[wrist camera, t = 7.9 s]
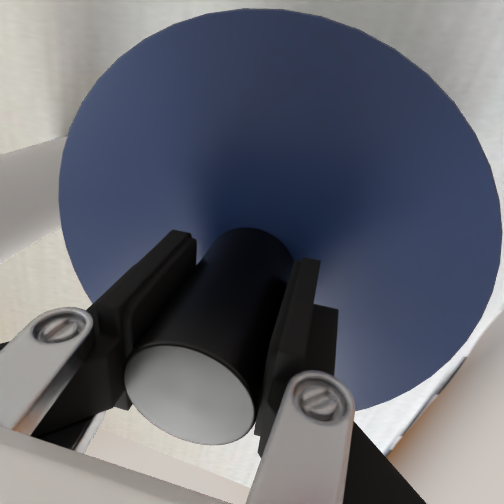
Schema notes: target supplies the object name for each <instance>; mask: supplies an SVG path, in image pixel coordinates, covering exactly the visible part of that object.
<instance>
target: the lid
mask: <svg viewBox="0 0 504 504" xmlns="http://www.w3.org/2000/svg"><path fill="white" fill-rule="evenodd" d="M58 202H59V211H60V220H61V227H62V231H63V235H64V240H65V244H66V248H67V251H68V254H69V256H70V259H71V262H72V265H73V268H74V270H75V272H76V274H77V276H78V278H79V280H80V282H81V285H82V287H83V289H84V291H85V292H86V294H87V295H88V297H89V299H90V300H91V302H92V304H93V303H94V302H95V301H96V300H97V299H99V298H100V297H101V296H102V295H103V294H104V293H105V292H106V291H107V290H108V289H109V288H110V287H111V286H112V285H113V284H114V283H115V282H116V281H117V280H119V279H120V278H121V277H122V276H123V275H124V274H125V273H126V272H127V271H128V270H129V269H130V268H131V267H132V266H133V265H135V264H137V263H138V262H139V261H140V260H141V259H142V258H143V257H144V256H145V255H146V254H147V253H148V252H149V251H150V250H151V249H153V248H154V247H155V246H156V245H157V244H158V243H159V242H160V241H161V240H162V239H163V238H164V237H165V236H166V235H167V234H168V233H169V232H170V231H171V230H178V231H183V232H188V233H191V234H192V238H194V239H196V240H197V260H196V267H195V268H194V269H193V271H192V272H191V273H190V275H189V276H188V277H187V279H186V280H185V281H184V283H183V284H182V285H181V287H180V288H179V289H178V291H177V292H176V293H175V295H174V296H173V297H172V299H171V300H170V301H169V303H168V304H167V305H166V307H165V308H164V309H163V311H162V312H161V313H160V315H159V316H158V317H157V319H156V320H155V321H154V323H153V324H152V325H151V327H150V328H149V329H148V331H147V332H146V333H145V335H144V336H143V337H142V339H141V340H140V341H139V343H138V344H137V345H136V347H135V348H134V349H133V351H132V352H131V353H130V355H129V356H128V358H127V359H126V362H125V364H124V369H123V383H124V387H125V390H126V393H127V395H128V397H129V399H130V400H131V402H132V403H133V405H134V406H135V407H136V408H137V410H138V411H139V412H140V413H141V414H142V415H143V416H144V417H145V418H146V419H147V420H149V421H150V422H151V423H152V424H154V425H155V426H156V427H158V428H160V429H161V430H163V431H165V432H166V433H168V434H170V435H172V436H175V437H177V438H179V439H182V440H185V441H189V442H192V443H197V444H203V445H223V444H228V443H232V442H234V441H237V440H239V439H241V438H242V437H244V436H245V435H246V434H247V433H248V432H249V431H250V430H251V429H252V427H253V426H254V424H255V422H256V418H257V414H258V411H259V407H260V403H261V400H262V383H263V377H264V371H265V365H266V359H267V354H268V349H269V345H270V341H271V337H272V334H273V331H274V327H275V324H276V320H277V317H278V314H279V310H280V307H281V304H282V300H283V297H284V294H285V290H286V287H287V284H288V280H289V277H290V274H291V270H292V267H293V264H294V260H297V261H302V258H303V257H306V258H311V259H316V260H320V261H321V263H320V269H319V275H318V280H317V286H316V292H315V298H314V304H318V305H322V306H326V307H330V308H335V309H338V310H339V316H338V330H337V345H336V360H335V374H334V376H335V377H337V378H338V379H339V380H340V381H342V382H343V383H344V384H345V385H346V386H347V387H348V389H349V390H350V391H351V393H352V396H353V398H354V401H355V411H358V410H362V409H367V408H370V407H372V406H375V405H378V404H381V403H384V402H386V401H389V400H391V399H393V398H395V397H397V396H399V395H401V394H403V393H405V392H407V391H409V390H411V389H413V388H414V387H416V386H417V385H419V384H420V383H422V382H423V381H425V380H426V379H428V378H430V377H431V376H432V375H433V374H435V373H436V372H437V371H438V370H439V369H440V368H441V367H443V366H444V365H445V364H446V363H447V362H448V361H450V360H451V358H452V357H453V356H454V355H455V354H456V353H457V351H458V350H459V349H460V348H461V347H462V346H463V345H464V343H465V342H466V341H467V340H468V338H469V337H470V335H471V333H472V332H473V330H474V329H475V327H476V326H477V324H478V322H479V321H480V319H481V318H482V315H483V313H484V311H485V309H486V306H487V304H488V302H489V299H490V297H491V295H492V292H493V289H494V285H495V281H496V277H497V273H498V269H499V265H500V256H501V243H502V223H501V212H500V201H499V196H498V193H497V189H496V185H495V181H494V178H493V174H492V170H491V166H490V164H489V162H488V160H487V158H486V156H485V153H484V151H483V149H482V147H481V145H480V142H479V140H478V138H477V136H476V134H475V132H474V131H473V129H472V128H471V126H470V125H469V123H468V122H467V120H466V119H465V117H464V116H463V114H462V113H461V111H460V110H459V108H458V107H457V106H456V104H455V103H454V101H453V100H452V99H451V98H450V97H449V96H448V95H447V94H446V93H445V92H444V91H443V90H442V89H441V88H440V87H439V86H438V84H437V83H436V82H435V81H434V80H433V79H432V78H431V77H430V76H429V75H428V74H427V73H426V72H424V71H423V70H422V69H421V68H419V67H418V66H417V65H415V64H414V63H413V62H411V61H410V60H409V59H408V58H406V57H405V56H404V55H402V54H401V53H400V52H398V51H397V50H396V49H394V48H392V47H390V46H389V45H387V44H385V43H383V42H381V41H379V40H377V39H376V38H374V37H372V36H370V35H368V34H366V33H365V32H363V31H361V30H359V29H356V28H353V27H350V26H347V25H345V24H342V23H339V22H336V21H333V20H330V19H327V18H325V17H322V16H317V15H311V14H306V13H300V12H295V11H289V10H284V9H249V8H243V9H236V10H229V11H222V12H215V13H208V14H204V15H201V16H198V17H195V18H192V19H188V20H185V21H182V22H179V23H176V24H173V25H171V26H169V27H167V28H165V29H163V30H161V31H159V32H157V33H155V34H153V35H151V36H149V37H147V38H145V39H144V40H142V41H141V42H140V43H138V44H137V45H136V46H134V47H133V48H132V49H130V50H129V51H128V52H126V53H125V54H123V55H122V56H121V57H119V58H118V59H117V60H116V61H115V62H114V64H113V65H112V66H111V67H110V68H109V69H108V70H107V71H106V72H105V73H104V74H103V75H102V76H101V77H100V78H99V79H98V80H97V82H96V83H95V85H94V86H93V88H92V89H91V91H90V92H89V93H88V95H87V96H86V98H85V99H84V101H83V102H82V104H81V106H80V108H79V110H78V112H77V114H76V116H75V118H74V120H73V122H72V125H71V127H70V129H69V133H68V136H67V139H66V143H65V146H64V149H63V153H62V159H61V166H60V172H59V196H58Z"/></svg>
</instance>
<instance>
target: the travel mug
mask: <svg viewBox="0 0 504 504" xmlns="http://www.w3.org/2000/svg"><path fill="white" fill-rule="evenodd" d="M66 139H67V136H64V137H61V138H58V139H54V140H51V141H47V142H44V143H40V144H37V145H33V146H30V147H26V148H23V149H19V150H16V151H13V152H9V153H6V154H2V155H0V264H1V263H3V262H5V261H6V260H8V259H10V258H11V257H13V256H15V255H17V254H18V253H20V252H22V251H23V250H25V249H27V248H28V247H30V246H32V245H33V244H35V243H37V242H38V241H40V240H42V239H43V238H45V237H47V236H48V235H50V234H52V233H53V232H55V231H57V230H58V229H60V228H62V227H61V220H60V211H59V202H58V196H59V172H60V166H61V159H62V153H63V149H64V146H65V143H66Z"/></svg>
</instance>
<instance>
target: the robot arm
mask: <svg viewBox="0 0 504 504" xmlns="http://www.w3.org/2000/svg"><path fill="white" fill-rule="evenodd" d="M196 260H197V240H196V239H194V238H192V234H191V233H188V232H183V231H178V230H171V231H170V232H169V233H168V234H167V235H166V236H165V237H164V238H163V239H162V240H161V241H160V242H159V243H158V244H157V245H156V246H155V247H154V248H153V249H151V250H150V251H149V252H148V253H147V254H146V255H145V256H144V257H143V258H142V259H141V260H140V261H139V262H138V263H137V264H135V265H133V266H132V267H131V268H130V269H129V270H128V271H127V272H126V273H125V274H124V275H123V276H122V277H121V278H120V279H119V280H117V281H116V282H115V283H114V284H113V285H112V286H111V287H110V288H109V289H108V290H107V291H106V292H105V293H104V294H103V295H102V296H101V297H100V298H99V299H97V300H96V301H95V302H94V303H93V304H92V305H91V306H90V307H89V308H88V309H87V310H83V309H80V308H76V307H63V308H57V309H53V310H50V311H47V312H45V313H43V314H41V315H39V316H37V317H36V318H35V319H33V320H32V321H31V322H30V323H29V324H28V325H27V326H26V327H25V328H24V329H23V330H22V331H21V332H20V333H19V334H18V335H17V336H16V337H14V338H13V339H12V340H11V341H10V342H6V343H2V344H0V504H231V503H228V502H225V501H222V500H219V499H216V498H213V497H210V496H207V495H204V494H201V493H198V492H195V491H192V490H190V489H187V488H184V487H181V486H177V485H175V484H172V483H169V482H166V481H163V480H160V479H157V478H154V477H151V476H148V475H145V474H142V473H139V472H136V471H133V470H130V469H127V468H124V467H121V466H118V465H115V464H112V463H109V462H106V461H103V460H100V459H97V458H94V457H91V456H88V455H85V454H84V453H85V451H86V449H87V447H88V446H89V444H90V442H91V440H92V438H93V437H94V435H95V433H96V431H97V430H98V428H99V426H100V424H101V423H102V421H103V419H104V416H105V413H106V410H109V409H111V408H113V407H117V408H121V409H124V410H127V411H128V410H129V409H130V407H131V406H132V404H133V403H132V402H131V400H130V399H129V397H128V395H127V393H126V390H125V387H124V383H123V369H124V364H125V362H126V359H127V358H128V356H129V355H130V353H131V352H132V351H133V349H134V348H135V347H136V345H137V344H138V343H139V341H140V340H141V339H142V337H143V336H144V335H145V333H146V332H147V331H148V329H149V328H150V327H151V325H152V324H153V323H154V321H155V320H156V319H157V317H158V316H159V315H160V313H161V312H162V311H163V309H164V308H165V307H166V305H167V304H168V303H169V301H170V300H171V299H172V297H173V296H174V295H175V293H176V292H177V291H178V289H179V288H180V287H181V285H182V284H183V283H184V281H185V280H186V279H187V277H188V276H189V275H190V273H191V272H192V271H193V269H194V268H195V267H196ZM320 263H321V261H320V260H316V259H311V258H306V257H303V258H302V261H297V260H294V264H293V267H292V270H291V274H290V277H289V280H288V284H287V287H286V290H285V294H284V297H283V300H282V304H281V307H280V310H279V314H278V317H277V320H276V324H275V327H274V331H273V334H272V337H271V341H270V345H269V349H268V354H267V359H266V365H265V371H264V377H263V383H262V400H261V403H260V407H259V411H258V414H257V418H256V424H255V430H254V435H257V436H261V437H260V442H259V447H258V454H259V455H260V457H261V461H260V464H259V467H258V470H257V473H256V475H255V478H254V481H253V484H252V487H251V490H250V493H249V495H248V498H247V502H246V504H426V503H425V501H424V500H423V499H422V498H421V497H420V496H419V495H418V494H417V492H416V491H415V490H414V489H413V488H412V487H411V486H410V484H409V483H408V482H407V481H406V480H405V479H404V478H403V477H402V475H401V474H400V473H399V472H398V471H397V470H396V468H395V467H394V466H393V465H392V464H391V463H390V462H389V461H388V459H387V458H386V457H385V456H384V455H383V454H382V453H381V451H380V450H379V449H378V448H377V447H376V446H375V445H374V444H373V442H372V441H371V440H370V439H369V438H368V437H367V436H366V434H365V433H364V432H363V431H362V430H361V429H360V428H359V427H358V425H357V424H356V423H355V422H354V414H355V401H354V398H353V396H352V393H351V391H350V390H349V389H348V387H347V386H346V385H345V384H344V383H343V382H342V381H340V380H339V379H338V378H337V377H335V376H334V374H335V360H336V345H337V330H338V316H339V310H338V309H335V308H330V307H326V306H322V305H318V304H314V298H315V292H316V286H317V280H318V275H319V269H320Z"/></svg>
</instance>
